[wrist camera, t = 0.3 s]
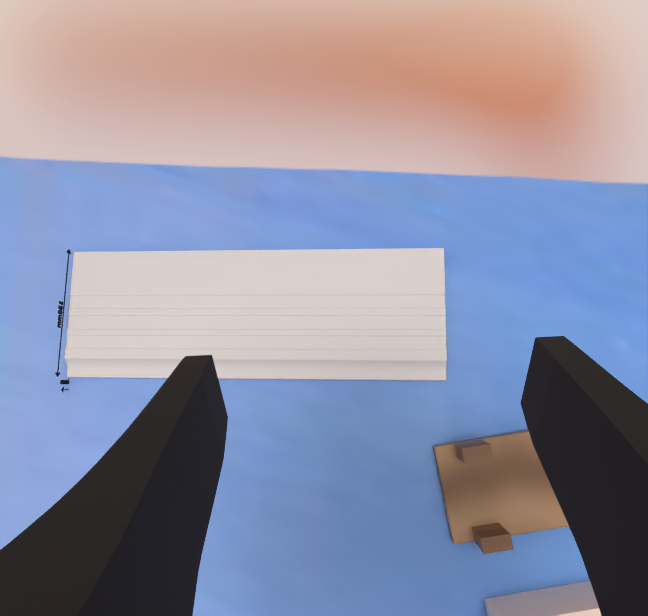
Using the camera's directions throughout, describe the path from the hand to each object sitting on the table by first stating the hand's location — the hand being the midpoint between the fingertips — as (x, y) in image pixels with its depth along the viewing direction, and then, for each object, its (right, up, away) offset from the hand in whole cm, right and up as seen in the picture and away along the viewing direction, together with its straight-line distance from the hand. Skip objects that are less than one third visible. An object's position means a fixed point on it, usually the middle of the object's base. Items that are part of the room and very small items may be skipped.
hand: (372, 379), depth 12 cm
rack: (+15, -11, +27) cm, 33 cm away
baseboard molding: (-7, 0, +32) cm, 32 cm away
